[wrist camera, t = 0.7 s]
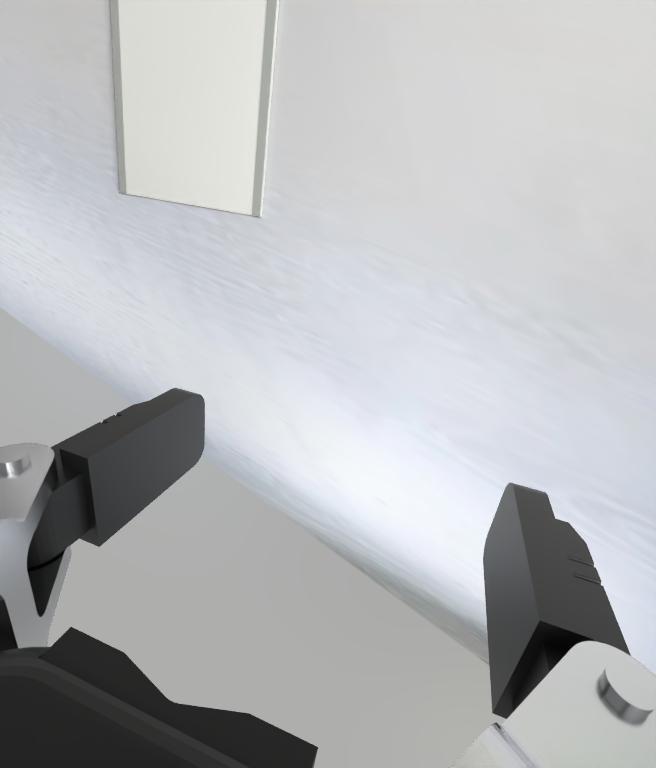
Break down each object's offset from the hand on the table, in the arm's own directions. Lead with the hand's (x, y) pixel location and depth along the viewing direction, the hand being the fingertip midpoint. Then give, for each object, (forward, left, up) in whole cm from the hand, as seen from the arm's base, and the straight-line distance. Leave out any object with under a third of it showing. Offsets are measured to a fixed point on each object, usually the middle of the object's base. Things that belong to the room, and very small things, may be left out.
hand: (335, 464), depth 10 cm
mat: (-17, -25, -28) cm, 41 cm away
